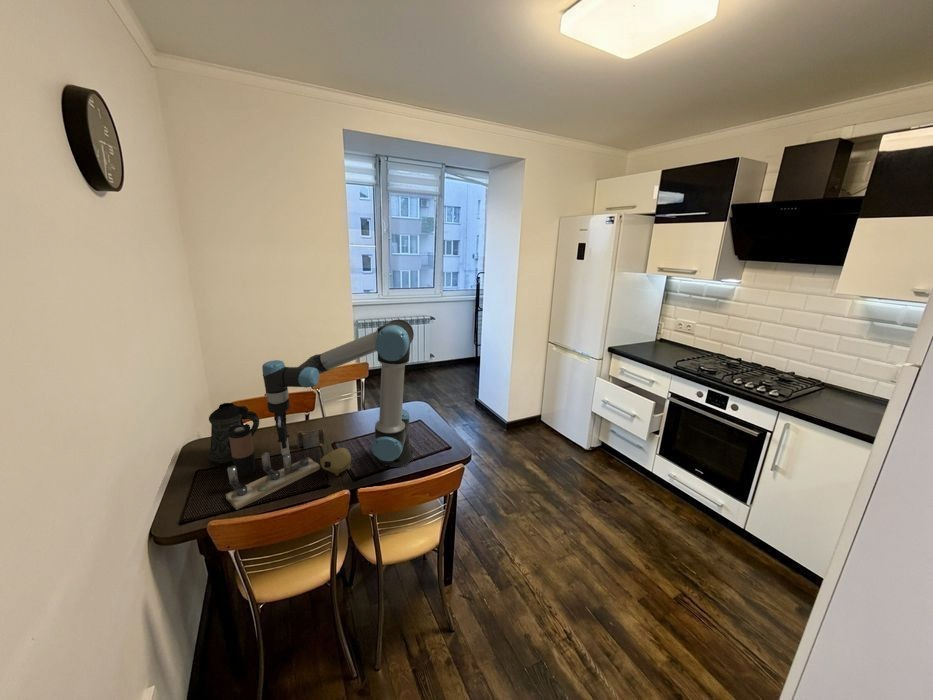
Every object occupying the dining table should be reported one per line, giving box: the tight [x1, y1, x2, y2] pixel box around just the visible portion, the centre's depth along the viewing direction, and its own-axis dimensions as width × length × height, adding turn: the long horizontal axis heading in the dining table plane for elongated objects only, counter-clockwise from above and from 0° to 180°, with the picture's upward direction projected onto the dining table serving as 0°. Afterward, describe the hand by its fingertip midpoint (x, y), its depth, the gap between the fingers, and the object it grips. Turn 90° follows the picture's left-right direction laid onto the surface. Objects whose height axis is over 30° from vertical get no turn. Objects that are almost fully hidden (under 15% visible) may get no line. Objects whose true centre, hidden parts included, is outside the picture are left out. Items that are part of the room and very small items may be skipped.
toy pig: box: [319, 447, 352, 476], centre depth 150 cm, size 10×12×11 cm
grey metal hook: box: [260, 451, 280, 480], centre depth 143 cm, size 10×3×8 cm, turn 52°
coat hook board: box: [225, 456, 321, 511], centre depth 143 cm, size 9×32×3 cm, turn 142°
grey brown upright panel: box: [296, 428, 326, 449], centre depth 168 cm, size 11×3×10 cm, turn 114°
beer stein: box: [207, 402, 260, 469], centre depth 156 cm, size 16×19×25 cm
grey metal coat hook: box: [226, 466, 248, 496], centre depth 134 cm, size 10×3×8 cm, turn 52°
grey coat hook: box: [282, 453, 309, 472], centre depth 148 cm, size 10×3×8 cm, turn 145°
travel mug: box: [228, 423, 257, 478], centre depth 146 cm, size 8×8×20 cm
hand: (285, 453), depth 146 cm, fingers closed
